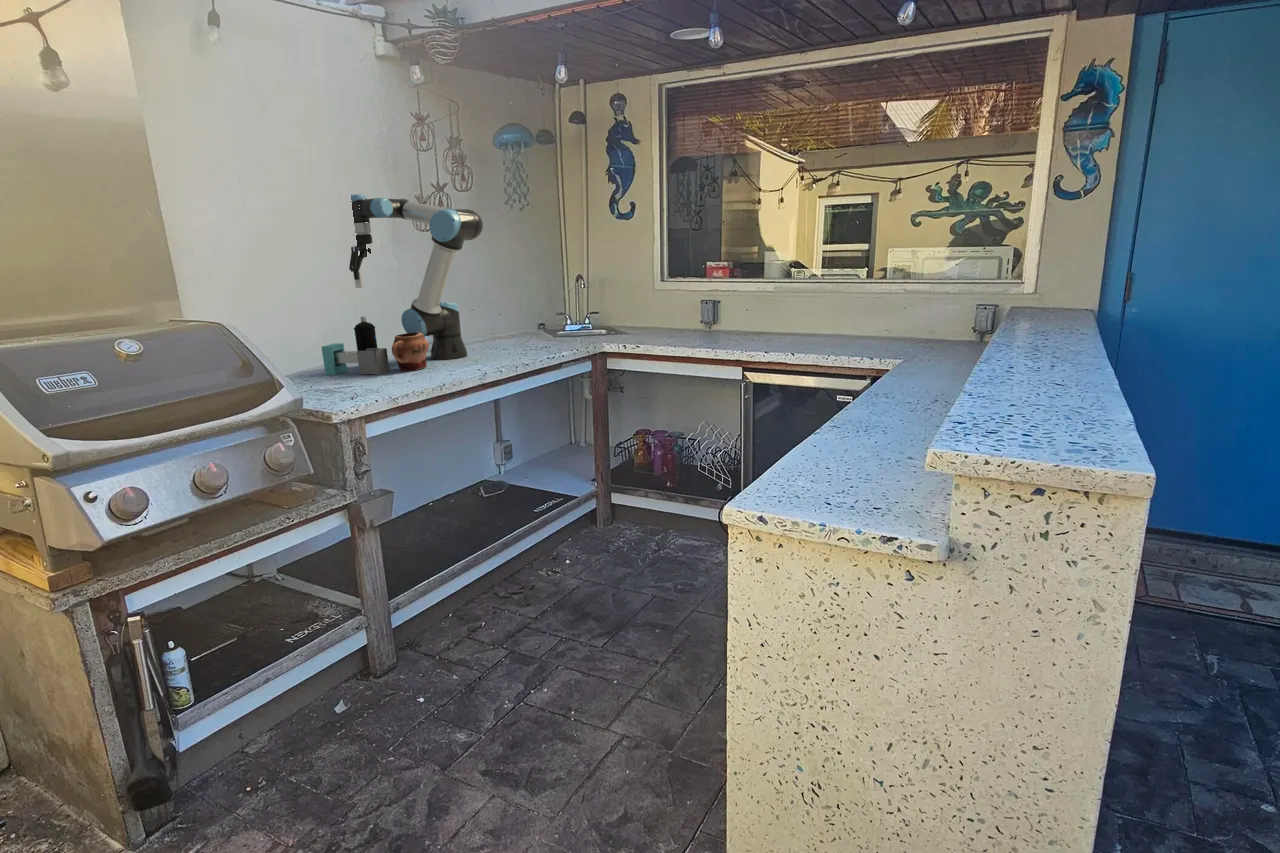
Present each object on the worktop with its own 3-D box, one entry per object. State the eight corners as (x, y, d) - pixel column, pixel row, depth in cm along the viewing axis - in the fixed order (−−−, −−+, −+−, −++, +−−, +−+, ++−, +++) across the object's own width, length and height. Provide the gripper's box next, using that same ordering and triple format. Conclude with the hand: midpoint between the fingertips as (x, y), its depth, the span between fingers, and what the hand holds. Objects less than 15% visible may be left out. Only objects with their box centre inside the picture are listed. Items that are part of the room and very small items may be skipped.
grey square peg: (371, 362, 280) (369, 349, 279) (363, 364, 275) (362, 351, 274) (337, 362, 283) (336, 350, 282) (330, 364, 279) (328, 352, 277)
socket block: (347, 371, 285) (343, 343, 282) (334, 375, 278) (330, 346, 275) (338, 371, 286) (334, 343, 283) (325, 375, 278) (321, 346, 276)
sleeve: (389, 371, 281) (386, 348, 279) (379, 375, 274) (375, 351, 272) (370, 371, 283) (367, 348, 280) (360, 375, 276) (356, 351, 273)
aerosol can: (368, 368, 289) (361, 318, 284) (354, 367, 293) (347, 317, 288) (384, 365, 295) (378, 315, 290) (371, 364, 300) (364, 315, 295)
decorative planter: (412, 374, 272) (408, 337, 268) (383, 374, 274) (378, 337, 271) (438, 365, 290) (434, 330, 287) (410, 365, 293) (406, 330, 290)
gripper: (370, 234, 310) (376, 284, 316) (335, 234, 287) (342, 289, 292) (386, 233, 309) (392, 284, 314) (352, 233, 285) (359, 288, 291)
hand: (368, 286), depth 303 cm, fingers open, 13 cm apart
